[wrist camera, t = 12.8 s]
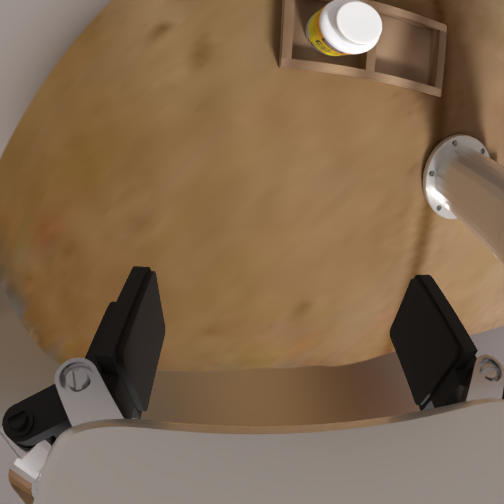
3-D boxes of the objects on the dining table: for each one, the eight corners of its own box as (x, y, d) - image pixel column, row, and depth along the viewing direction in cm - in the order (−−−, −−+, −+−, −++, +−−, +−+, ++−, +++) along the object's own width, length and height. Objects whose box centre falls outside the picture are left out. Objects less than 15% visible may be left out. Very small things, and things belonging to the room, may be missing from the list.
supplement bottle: (299, 48, 28) (318, 39, 20) (311, 4, 26) (334, -18, 17) (347, 63, 29) (383, 63, 21) (359, 21, 26) (397, 8, 18)
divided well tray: (434, 26, 26) (446, 25, 24) (428, 94, 31) (440, 97, 29) (282, -8, 26) (285, -15, 23) (278, 67, 31) (281, 67, 28)
